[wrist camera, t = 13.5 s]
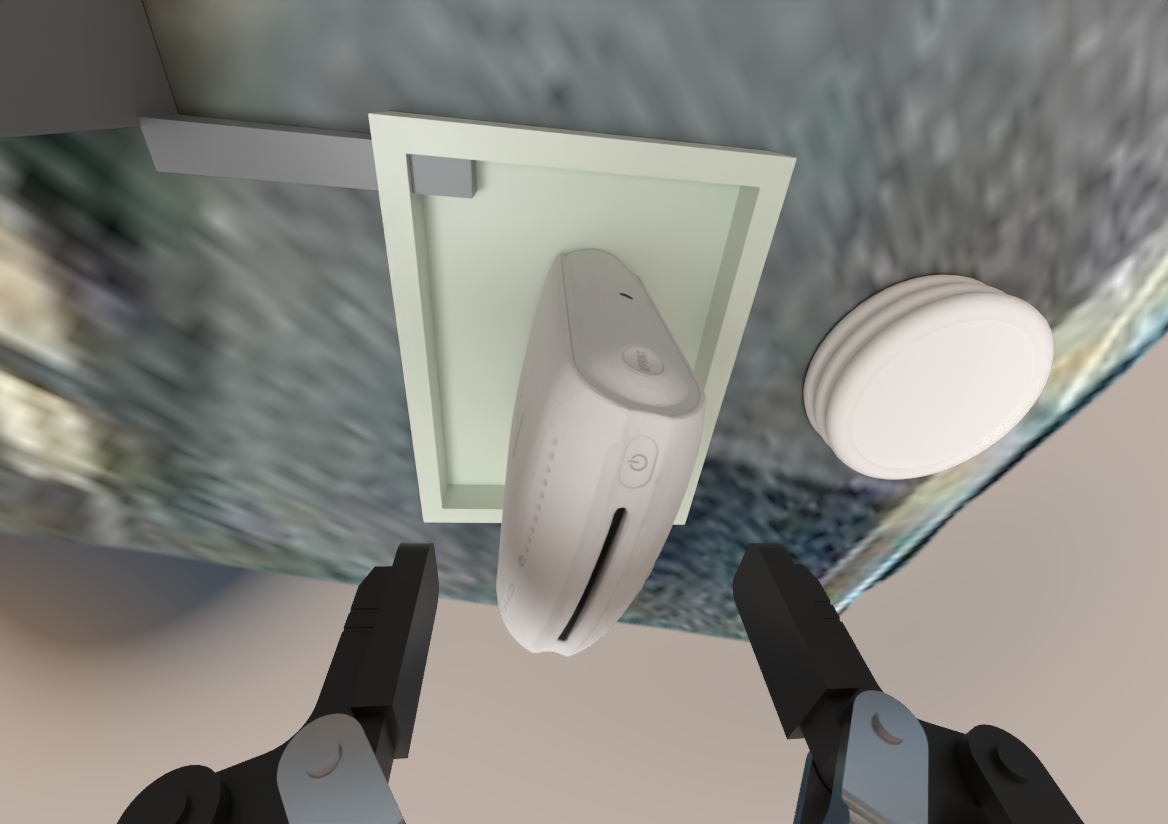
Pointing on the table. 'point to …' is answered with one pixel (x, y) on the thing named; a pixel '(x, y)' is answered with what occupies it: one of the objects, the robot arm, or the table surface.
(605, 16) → the table surface
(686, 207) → the tray
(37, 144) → the table surface
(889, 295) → the white round puck
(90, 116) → the dock
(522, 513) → the photo printer
